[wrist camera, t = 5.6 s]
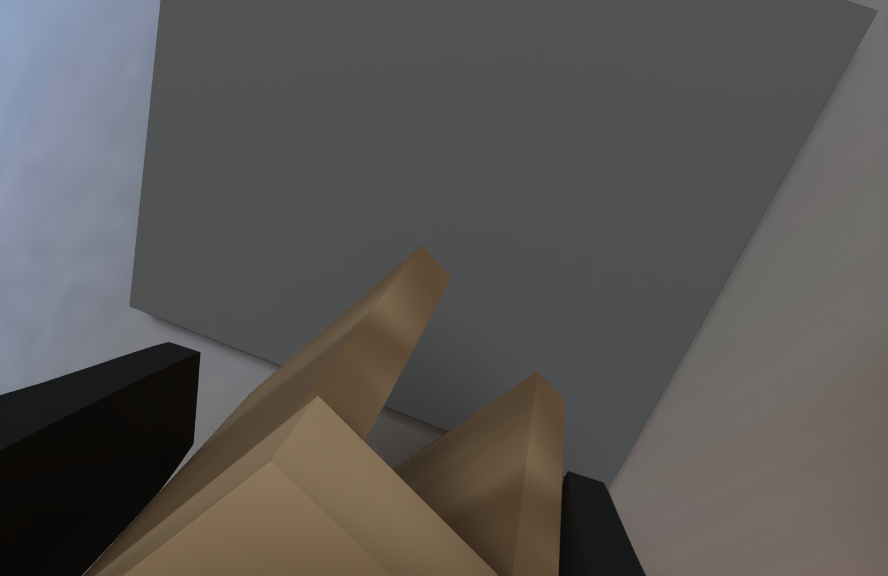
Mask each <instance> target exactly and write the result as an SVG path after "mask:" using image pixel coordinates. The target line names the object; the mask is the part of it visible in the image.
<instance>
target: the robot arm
mask: <svg viewBox="0 0 888 576" xmlns="http://www.w3.org/2000/svg"><path fill="white" fill-rule="evenodd" d="M200 353H201V352H198V351H195V350H192V349H189V348H186V347H183V346H180V345H177V344H173V343H170V342H167V343H163V344H160V345H156V346H152V347H149V348H146V349H143V350H140V351H136V352H133V353H130V354H127V355H124V356H121V357H118V358H115V359H112V360H109V361H107V362H104V363H101V364H98V365H95V366H92V367H89V368H86V369H83V370H80V371H76V372H73V373H70V374H67V375H64V376H61V377H58V378H55V379H52V380H49V381H46V382H43V383H40V384H37V385H33V386H30V387H26V388H23V389H20V390H16V391H13V392H9V393H6V394H3V395H0V576H82V575H83V574H84V573H85V572H86V570H87V569H88V568H89V567H90V566H91V565H92V564H93V563H94V562H95V561H96V560H97V559H98V558H99V557H100V556H101V554H102V553H103V552H104V551H105V550H106V549H107V548H108V547H109V546H110V545H111V544H112V543H113V542H114V541H115V540H116V538H117V537H118V536H119V535H120V534H121V533H122V532H123V531H124V530H125V529H126V528H127V527H128V526H129V524H130V523H131V522H132V521H133V520H134V519H135V518H136V517H137V516H138V515H139V514H140V513H141V511H142V510H143V509H144V508H145V507H146V506H147V505H148V504H149V503H150V502H151V501H152V499H153V498H154V497H155V496H156V495H157V494H158V493H159V492H160V490H161V489H162V488H163V486H164V485H165V483H166V482H167V481H168V479H169V478H170V477H171V475H172V474H173V473H174V471H175V470H176V469H177V467H178V466H179V464H180V463H181V461H182V460H183V458H184V457H185V456H186V454H187V453H188V451H189V450H190V448H191V447H192V446H193V444H194V431H195V418H196V405H197V392H198V379H199V366H200ZM558 576H646V575H645V573H644V571H643V569H642V567H641V564H640V562H639V560H638V558H637V556H636V554H635V552H634V549H633V547H632V545H631V543H630V540H629V538H628V536H627V534H626V531H625V529H624V527H623V525H622V522H621V520H620V518H619V515H618V513H617V511H616V508H615V506H614V503H613V501H612V499H611V496H610V494H609V492H608V490H607V488H606V486H605V484H604V482H601V481H598V480H595V479H591V478H588V477H585V476H582V475H579V474H576V473H573V472H570V471H567V473H566V476H565V478H564V481H563V483H562V499H561V524H560V549H559V574H558Z"/></svg>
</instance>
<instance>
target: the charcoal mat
mask: <svg viewBox="0 0 888 576" xmlns="http://www.w3.org/2000/svg"><path fill="white" fill-rule="evenodd" d="M877 12H878V11H877V10H874V9H871V8H868V7H865V6H862V5H859V4H856V3H853V2H850V1H847V0H161V2H160V12H159V22H158V32H157V41H156V51H155V61H154V71H153V81H152V90H151V100H150V110H149V120H148V130H147V139H146V149H145V159H144V169H143V179H142V189H141V198H140V208H139V218H138V228H137V238H136V247H135V257H134V267H133V277H132V287H131V296H130V307H133V308H135V309H138V310H140V311H143V312H145V313H148V314H150V315H153V316H155V317H158V318H161V319H163V320H166V321H168V322H171V323H173V324H176V325H178V326H181V327H184V328H186V329H189V330H191V331H194V332H196V333H199V334H201V335H204V336H206V337H209V338H212V339H214V340H217V341H219V342H222V343H224V344H227V345H229V346H232V347H234V348H237V349H240V350H242V351H245V352H247V353H250V354H252V355H255V356H257V357H260V358H263V359H265V360H268V361H270V362H273V363H275V364H278V365H280V366H283V365H284V364H285V363H286V362H287V361H288V360H289V359H291V358H292V357H293V356H294V355H295V354H296V353H298V352H299V351H300V350H301V349H302V348H303V347H304V346H306V345H307V344H308V343H309V342H310V341H311V340H312V339H314V338H315V337H316V336H317V335H318V334H319V333H321V332H322V331H323V330H324V329H325V328H326V327H327V326H329V325H330V324H331V323H332V322H333V321H334V320H335V319H337V318H338V317H339V316H340V315H341V314H342V313H344V312H345V311H346V310H347V309H348V308H349V307H350V306H352V305H353V304H354V303H355V302H356V301H357V300H359V299H360V298H361V297H362V296H363V295H364V294H365V293H367V292H368V291H369V290H370V289H371V288H372V287H373V286H375V285H376V284H377V283H378V282H379V281H380V280H382V279H383V278H384V277H385V276H386V275H387V274H388V273H390V272H391V271H392V270H393V269H394V268H395V267H396V266H398V265H399V264H400V263H401V262H402V261H403V260H405V259H406V258H407V257H408V256H409V255H410V254H411V253H413V252H414V251H415V250H416V249H417V248H418V247H420V246H421V245H423V247H424V248H425V249H426V250H427V251H428V252H429V253H430V254H431V255H432V256H433V257H434V259H435V260H436V261H437V262H438V263H439V264H440V265H441V266H442V267H443V268H444V269H445V270H446V272H447V273H448V274H449V275H450V276H451V279H450V281H449V283H448V285H447V287H446V289H445V291H444V293H443V294H442V296H441V298H440V300H439V302H438V304H437V306H436V308H435V310H434V312H433V313H432V315H431V317H430V319H429V321H428V323H427V325H426V327H425V329H424V330H423V332H422V334H421V336H420V338H419V340H418V342H417V344H416V346H415V347H414V349H413V351H412V353H411V355H410V357H409V359H408V361H407V363H406V364H405V366H404V368H403V370H402V372H401V374H400V376H399V378H398V380H397V381H396V383H395V385H394V387H393V389H392V391H391V393H390V395H389V397H388V398H387V400H386V402H385V404H384V406H385V407H387V408H390V409H392V410H395V411H398V412H400V413H403V414H405V415H408V416H410V417H413V418H415V419H418V420H421V421H423V422H426V423H428V424H431V425H433V426H436V427H438V428H441V429H443V430H446V431H450V430H452V429H453V428H455V427H456V426H458V425H459V424H461V423H462V422H464V421H465V420H466V419H468V418H469V417H471V416H472V415H474V414H475V413H477V412H478V411H480V410H481V409H483V408H484V407H486V406H487V405H488V404H490V403H491V402H493V401H494V400H496V399H497V398H499V397H500V396H502V395H503V394H505V393H506V392H508V391H509V390H510V389H512V388H513V387H515V386H516V385H518V384H519V383H521V382H522V381H524V380H525V379H527V378H528V377H530V376H531V375H532V374H534V373H535V372H537V371H539V373H540V374H541V375H542V376H543V377H544V378H545V379H546V380H547V381H548V382H549V383H550V385H551V386H552V387H553V388H554V389H555V390H556V391H557V392H558V393H559V394H560V395H561V396H562V398H563V399H564V400H565V424H564V449H563V474H562V476H563V477H565V476H566V473H567V471H570V472H573V473H576V474H579V475H582V476H585V477H588V478H591V479H595V480H598V481H601V482H604V484H605V486H606V488H607V490H608V489H609V487H610V485H611V484H612V482H613V480H614V478H615V476H616V475H617V473H618V471H619V469H620V468H621V466H622V464H623V462H624V461H625V459H626V457H627V455H628V453H629V452H630V450H631V448H632V446H633V445H634V443H635V441H636V439H637V437H638V436H639V434H640V432H641V430H642V429H643V427H644V425H645V423H646V422H647V420H648V418H649V416H650V414H651V413H652V411H653V409H654V407H655V406H656V404H657V402H658V400H659V398H660V397H661V395H662V393H663V391H664V390H665V388H666V386H667V384H668V383H669V381H670V379H671V377H672V375H673V374H674V372H675V370H676V368H677V367H678V365H679V363H680V361H681V359H682V358H683V356H684V354H685V352H686V351H687V349H688V347H689V345H690V343H691V342H692V340H693V338H694V336H695V335H696V333H697V331H698V329H699V328H700V326H701V324H702V322H703V320H704V319H705V317H706V315H707V313H708V312H709V310H710V308H711V306H712V304H713V303H714V301H715V299H716V297H717V296H718V294H719V292H720V290H721V289H722V287H723V285H724V283H725V281H726V280H727V278H728V276H729V274H730V273H731V271H732V269H733V267H734V265H735V264H736V262H737V260H738V258H739V257H740V255H741V253H742V251H743V250H744V248H745V246H746V244H747V242H748V241H749V239H750V237H751V235H752V234H753V232H754V230H755V228H756V226H757V225H758V223H759V221H760V219H761V218H762V216H763V214H764V212H765V211H766V209H767V207H768V205H769V203H770V202H771V200H772V198H773V196H774V195H775V193H776V191H777V189H778V187H779V186H780V184H781V182H782V180H783V179H784V177H785V175H786V173H787V172H788V170H789V168H790V166H791V164H792V163H793V161H794V159H795V157H796V156H797V154H798V152H799V150H800V148H801V147H802V145H803V143H804V141H805V140H806V138H807V136H808V134H809V132H810V131H811V129H812V127H813V125H814V124H815V122H816V120H817V118H818V117H819V115H820V113H821V111H822V109H823V108H824V106H825V104H826V102H827V101H828V99H829V97H830V95H831V93H832V92H833V90H834V88H835V86H836V85H837V83H838V81H839V79H840V78H841V76H842V74H843V72H844V70H845V69H846V67H847V65H848V63H849V62H850V60H851V58H852V56H853V54H854V53H855V51H856V49H857V47H858V46H859V44H860V42H861V40H862V39H863V37H864V35H865V33H866V31H867V30H868V28H869V26H870V24H871V23H872V21H873V19H874V17H875V15H876V14H877Z"/></svg>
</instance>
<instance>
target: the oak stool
mask: <svg viewBox="0 0 888 576" xmlns="http://www.w3.org/2000/svg"><path fill="white" fill-rule="evenodd" d="M450 279H451V276H450V275H449V274H448V273H447V272H446V270H445V269H444V268H443V267H442V266H441V265H440V264H439V263H438V262H437V261H436V260H435V259H434V257H433V256H432V255H431V254H430V253H429V252H428V251H427V250H426V249H425V248H424V247H423V245H421V246H420V247H418V248H417V249H416V250H415V251H414V252H413V253H411V254H410V255H409V256H408V257H407V258H406V259H405V260H403V261H402V262H401V263H400V264H399V265H398V266H396V267H395V268H394V269H393V270H392V271H391V272H390V273H388V274H387V275H386V276H385V277H384V278H383V279H382V280H380V281H379V282H378V283H377V284H376V285H375V286H373V287H372V288H371V289H370V290H369V291H368V292H367V293H365V294H364V295H363V296H362V297H361V298H360V299H359V300H357V301H356V302H355V303H354V304H353V305H352V306H350V307H349V308H348V309H347V310H346V311H345V312H344V313H342V314H341V315H340V316H339V317H338V318H337V319H335V320H334V321H333V322H332V323H331V324H330V325H329V326H327V327H326V328H325V329H324V330H323V331H322V332H321V333H319V334H318V335H317V336H316V337H315V338H314V339H312V340H311V341H310V342H309V343H308V344H307V345H306V346H304V347H303V348H302V349H301V350H300V351H299V352H298V353H296V354H295V355H294V356H293V357H292V358H291V359H289V360H288V361H287V362H286V363H285V364H284V365H283V366H281V367H280V368H279V369H278V370H277V371H276V372H274V373H273V374H272V375H271V376H270V377H269V378H268V379H266V380H265V381H264V382H263V383H262V384H261V385H260V386H258V387H257V388H256V389H255V390H254V391H253V392H251V393H250V394H249V395H248V397H247V398H246V399H245V400H244V401H243V402H242V403H241V404H240V405H239V406H238V407H237V409H236V410H235V411H234V412H233V413H232V414H231V415H230V416H229V417H228V418H227V419H226V420H225V422H224V423H223V424H222V425H221V426H220V427H219V428H218V429H217V430H216V431H215V432H214V434H213V435H212V436H211V437H210V438H209V439H208V440H207V441H206V442H205V443H204V444H203V446H202V447H201V448H200V449H199V450H198V451H197V452H196V453H195V454H194V455H193V456H192V458H191V459H190V460H189V461H188V462H187V463H186V464H185V465H184V466H183V467H182V468H181V469H180V471H179V472H178V473H177V474H176V475H175V476H174V477H173V478H172V479H171V480H170V481H169V483H168V484H167V485H166V486H165V487H164V488H163V489H162V490H161V491H160V492H159V493H158V495H157V496H156V497H155V498H154V499H153V500H152V501H151V502H150V503H149V504H148V505H147V507H146V508H145V509H144V510H143V511H142V512H141V513H140V514H139V515H138V516H137V517H136V518H135V520H134V521H133V522H132V523H131V524H130V525H129V526H128V527H127V528H126V529H125V530H124V532H123V533H122V534H121V535H120V536H119V537H118V538H117V539H116V540H115V541H114V542H113V544H112V545H111V546H110V547H109V548H108V549H107V550H106V551H105V552H104V553H103V554H102V556H101V557H100V558H99V559H98V560H97V561H96V562H95V563H94V564H93V565H92V566H91V568H90V569H89V570H88V571H87V572H86V573H85V574H84V575H83V576H558V574H559V549H560V524H561V499H562V474H563V449H564V424H565V400H564V399H563V398H562V396H561V395H560V394H559V393H558V392H557V391H556V390H555V389H554V388H553V387H552V386H551V385H550V383H549V382H548V381H547V380H546V379H545V378H544V377H543V376H542V375H541V374H540V373H539V371H537V372H535V373H534V374H532V375H531V376H530V377H528V378H527V379H525V380H524V381H522V382H521V383H519V384H518V385H516V386H515V387H513V388H512V389H510V390H509V391H508V392H506V393H505V394H503V395H502V396H500V397H499V398H497V399H496V400H494V401H493V402H491V403H490V404H488V405H487V406H486V407H484V408H483V409H481V410H480V411H478V412H477V413H475V414H474V415H472V416H471V417H469V418H468V419H466V420H465V421H464V422H462V423H461V424H459V425H458V426H456V427H455V428H453V429H452V430H450V431H449V432H447V433H446V434H445V435H443V436H442V437H440V438H439V439H437V440H436V441H434V442H433V443H431V444H430V445H428V446H427V447H425V448H424V449H423V450H421V451H420V452H418V453H417V454H415V455H414V456H412V457H411V458H409V459H408V460H406V461H405V462H403V463H402V464H401V465H399V466H398V467H396V468H395V469H393V470H392V469H391V468H390V467H389V466H388V465H387V464H386V463H385V462H384V461H383V460H382V459H381V458H380V457H379V456H378V455H377V454H376V453H375V452H374V451H373V450H372V449H371V448H370V447H369V446H368V445H367V444H366V443H365V440H366V438H367V436H368V434H369V433H370V431H371V429H372V427H373V425H374V423H375V421H376V419H377V417H378V416H379V414H380V412H381V410H382V408H383V406H384V404H385V402H386V400H387V398H388V397H389V395H390V393H391V391H392V389H393V387H394V385H395V383H396V381H397V380H398V378H399V376H400V374H401V372H402V370H403V368H404V366H405V364H406V363H407V361H408V359H409V357H410V355H411V353H412V351H413V349H414V347H415V346H416V344H417V342H418V340H419V338H420V336H421V334H422V332H423V330H424V329H425V327H426V325H427V323H428V321H429V319H430V317H431V315H432V313H433V312H434V310H435V308H436V306H437V304H438V302H439V300H440V298H441V296H442V294H443V293H444V291H445V289H446V287H447V285H448V283H449V281H450Z"/></svg>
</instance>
